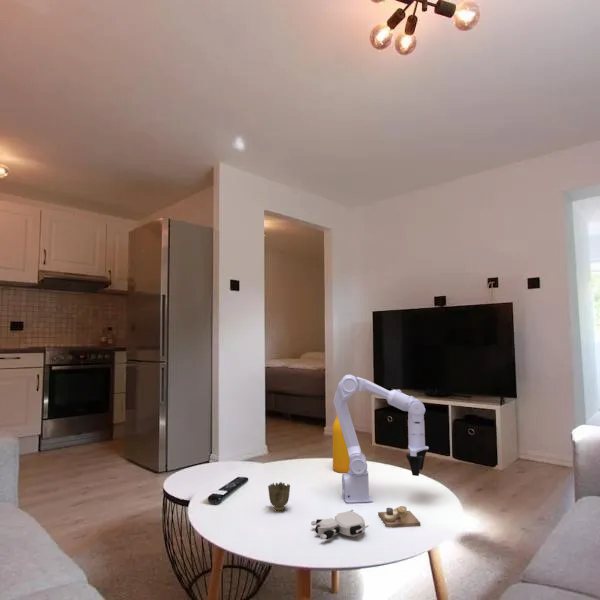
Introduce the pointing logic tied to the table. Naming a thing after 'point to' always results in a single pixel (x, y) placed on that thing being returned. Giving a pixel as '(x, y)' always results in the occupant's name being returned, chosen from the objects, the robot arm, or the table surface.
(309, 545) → the table surface
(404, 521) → the board
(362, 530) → the robot toy
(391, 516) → the link
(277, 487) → the cup
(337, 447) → the beer bottle
